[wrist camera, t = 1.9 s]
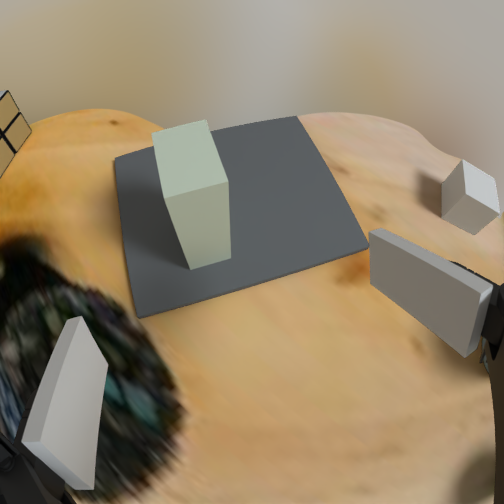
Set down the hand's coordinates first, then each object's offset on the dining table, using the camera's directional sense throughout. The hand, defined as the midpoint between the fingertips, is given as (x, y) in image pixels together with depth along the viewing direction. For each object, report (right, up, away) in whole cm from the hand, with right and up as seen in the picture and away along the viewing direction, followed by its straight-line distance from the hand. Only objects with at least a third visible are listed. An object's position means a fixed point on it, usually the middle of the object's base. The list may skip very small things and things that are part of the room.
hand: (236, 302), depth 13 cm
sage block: (-4, +4, +17) cm, 18 cm away
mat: (-2, +8, +20) cm, 22 cm away
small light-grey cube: (+29, +8, +22) cm, 37 cm away
